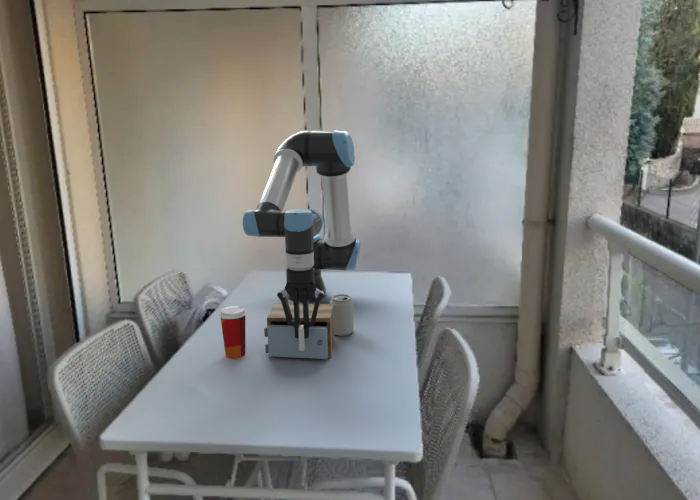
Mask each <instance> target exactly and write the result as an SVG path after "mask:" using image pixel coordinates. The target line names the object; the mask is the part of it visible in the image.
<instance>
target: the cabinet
mask: <svg viewBox="0 0 700 500" xmlns="http://www.w3.org/2000/svg"><path fill="white" fill-rule="evenodd" d="M314 304H315V303H309V320H311V317H312V313H313V309H314ZM289 307H290V310H291V314H292V317H293V320H294V304H293V303H289ZM299 309H300V325H304V323H303V303H299ZM268 325H288V323H287V320H286V316H285V313H284V309H283V306H282V303H274V304H273V305H272V307H271V309H270V310H269V314H268V315H267V317H266V327H267V326H268ZM314 326H320V327H327V340H328V357H327V359H328V358H332V355H333V349H334V344H335V334H334V307H333V304H330V303H320V304H319V308H318V312H317V317H316V321H315V324H314ZM268 357H269V358H273V357H272V356H269V355H268Z"/></svg>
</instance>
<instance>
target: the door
mask: <svg viewBox="0 0 700 500" xmlns="http://www.w3.org/2000/svg"><path fill="white" fill-rule="evenodd" d="M264 337H265V338H267V343H265V344H264V349H265V354H268V357H269V356H272V357H271V358H297V359H298V358H299V359H301V358H302V359H321V360H327V359H328V358H327V357H328V340H327V327H320V326H310V327H309V337H308V338H305V342H306V347H305V350H304V351H299V338H295V328H294V327H293V326H289V325H268V326H267V325H266V327H264Z"/></svg>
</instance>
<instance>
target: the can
mask: <svg viewBox="0 0 700 500" xmlns="http://www.w3.org/2000/svg"><path fill="white" fill-rule="evenodd" d="M329 304H333V307H334V336H340V337H341V336H342V337H344V336H349V335H351V334H352V333H353V332H354V331H355V330H354V329H355V327H354V326H355V325H354V324H355V323H354V315H355V314H354V300H353V299H352V296H351V295H350V294H346V293H340V294H339V293H338V294H334V295H332V296H331V300H329Z"/></svg>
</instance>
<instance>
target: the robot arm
mask: <svg viewBox="0 0 700 500" xmlns="http://www.w3.org/2000/svg"><path fill="white" fill-rule="evenodd" d="M355 158H356V156H355V145H354V143H353V138H352V136H351V134H350V133H349V132H348V131H344V130H336V129H334V130H301V131H299V132H296V133H294V134H292V135H290V136H289V137H288V138H286V139H285V140H284V141H283V142H282V143H281V144H280V145H279V146H278V148H277V150H276V151H275V154H274V156H273V167H272V169H271V172H270V174H269V177H268V179H267V182H266V185H265V186H264V189H263V191H262V193H261V197H260V199H259V202H258V204H257V205H256V208H255V209H251V210H250V209H248V210H246V211H245V212H244V213H243V216H242V228H243V229H242V230H243V232H244V234H245V235H247V236H248V237H258V238H284V242H285V243H284V246H285V266H286V267H287V268H286V269H285V276H286V278H285V279H286V284H285V286H284V288H283V289H279V291H278V292H277V294H276V296H277V298H278V299H279V301H280V302H281V303H280V304H282V306H283V309H284V313H285V316H286V320H287V323H288V325H289V326H293V327H294V328H295V338H299V351H304V350H305V347H306V342H305V338H308V337H309V327H310V326H314V324H315V321H316V317H317V312H318V308H319V304H321V301H322V299H323V298H324V297H326V296H327V288H326V286H325V285H326V284H325V282H324V280H323V276H322V271H323V270H325V271H344V272H346V271H355V270H356V269H357V267H358V264H359V259H360V251H361V240H360V239H357V238H356V235H355V232H354V231H352V229H351V228H352V227H351V217H350V216H351V215H350V205H349V202H350V201H349V190H348V189H349V188H348V177H347V174H348V173H349V172H350V171H351V168H352V167H353V166H354V165H355ZM303 167H315V170H316V173H317V174H318V175H319V176H320V177H321V184H322V185H321V186H322V194H323V203H324V213H325V222H326V231H327V232H326V234H325V235H324V236H323V238H322V237H321V234H319V233H320V232H321V231H322V228H323V225H324V218H323V215H322V214H321V213H320V212H319V211H318V210H316V209H313V208H293V209H292V208H291V209H288V210H284V208H285V205H286V203H287V200H288V198H289V195H290V192H291V190H292V187H293V185H294V181H295V178H296V175H297V173H298V172H300V171H301V170H302V168H303ZM288 299H290V300H292V302H293V303H292V304H294V320H293V317H292V314H291V310H290V307H289V304H290V302H289V300H288ZM310 301H314V303H313V304H314V309H313V313H312V317H311V320H309V304H310V303H309V302H310ZM300 302H302V304H303V323H304V325H300V309H299V304H300Z"/></svg>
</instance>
